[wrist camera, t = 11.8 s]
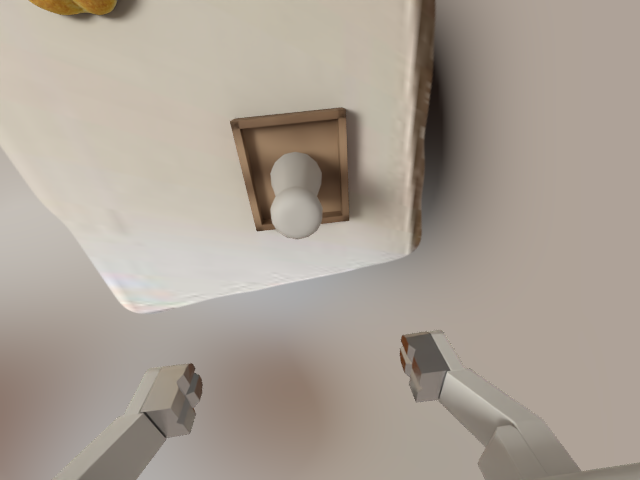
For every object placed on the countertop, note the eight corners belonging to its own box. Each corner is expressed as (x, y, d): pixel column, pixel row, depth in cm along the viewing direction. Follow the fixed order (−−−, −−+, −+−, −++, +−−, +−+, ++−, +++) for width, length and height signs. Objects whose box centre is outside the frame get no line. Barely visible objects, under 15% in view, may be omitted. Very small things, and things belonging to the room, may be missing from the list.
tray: (234, 118, 29) (230, 121, 27) (342, 107, 29) (345, 109, 27) (258, 222, 36) (256, 231, 34) (346, 212, 36) (349, 220, 34)
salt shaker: (325, 153, 31) (342, 193, 20) (314, 198, 34) (324, 255, 23) (275, 142, 30) (264, 178, 19) (268, 189, 32) (255, 245, 21)
